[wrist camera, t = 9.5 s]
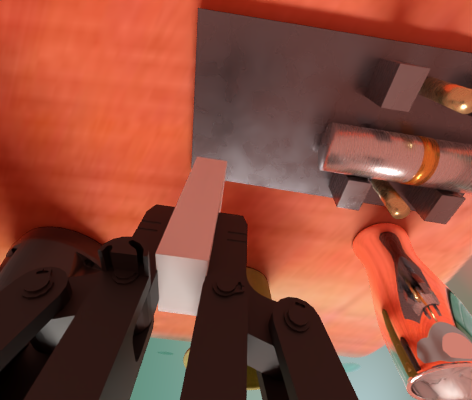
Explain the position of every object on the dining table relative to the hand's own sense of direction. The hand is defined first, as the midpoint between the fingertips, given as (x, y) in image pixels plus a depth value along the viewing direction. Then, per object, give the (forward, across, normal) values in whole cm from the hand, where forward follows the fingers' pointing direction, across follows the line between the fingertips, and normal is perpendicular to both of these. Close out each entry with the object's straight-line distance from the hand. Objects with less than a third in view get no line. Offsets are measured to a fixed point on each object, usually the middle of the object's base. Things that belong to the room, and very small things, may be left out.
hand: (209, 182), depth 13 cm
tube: (+11, +16, 0) cm, 19 cm away
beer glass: (+13, +20, -12) cm, 26 cm away
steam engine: (+13, +10, 0) cm, 16 cm away
